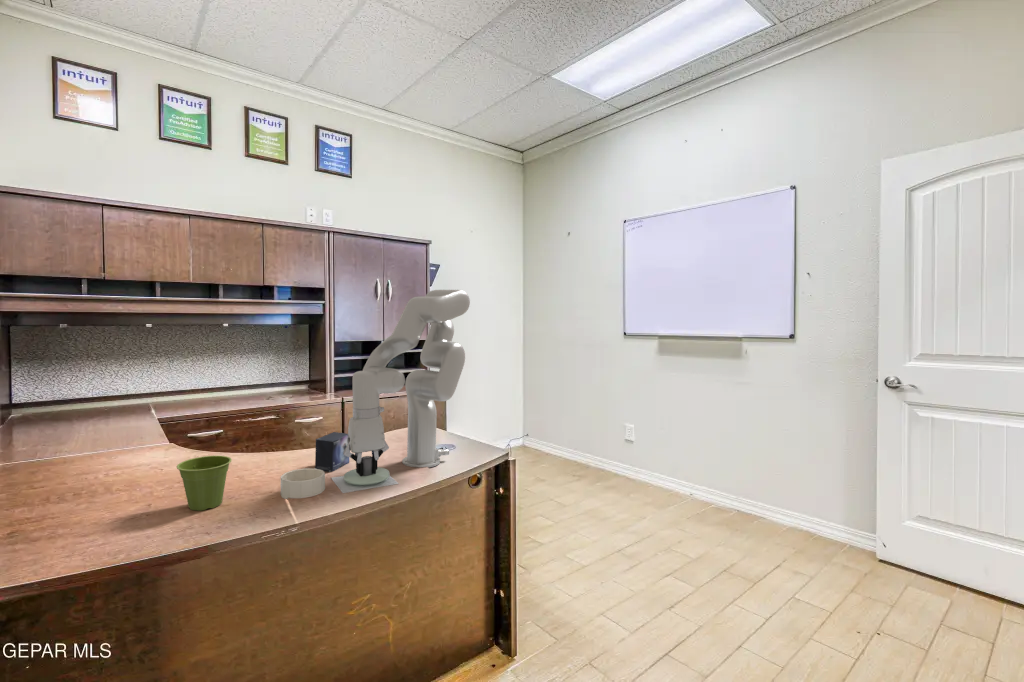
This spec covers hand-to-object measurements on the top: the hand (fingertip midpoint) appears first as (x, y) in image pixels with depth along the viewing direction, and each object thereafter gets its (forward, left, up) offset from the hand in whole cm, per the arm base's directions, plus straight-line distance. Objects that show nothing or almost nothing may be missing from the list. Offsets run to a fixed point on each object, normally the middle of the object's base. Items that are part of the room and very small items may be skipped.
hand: (366, 473), depth 145 cm
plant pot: (+41, -2, -3) cm, 41 cm away
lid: (0, 0, -1) cm, 1 cm away
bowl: (+18, 0, -3) cm, 18 cm away
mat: (+1, 0, -3) cm, 3 cm away
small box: (+6, -18, -3) cm, 19 cm away
